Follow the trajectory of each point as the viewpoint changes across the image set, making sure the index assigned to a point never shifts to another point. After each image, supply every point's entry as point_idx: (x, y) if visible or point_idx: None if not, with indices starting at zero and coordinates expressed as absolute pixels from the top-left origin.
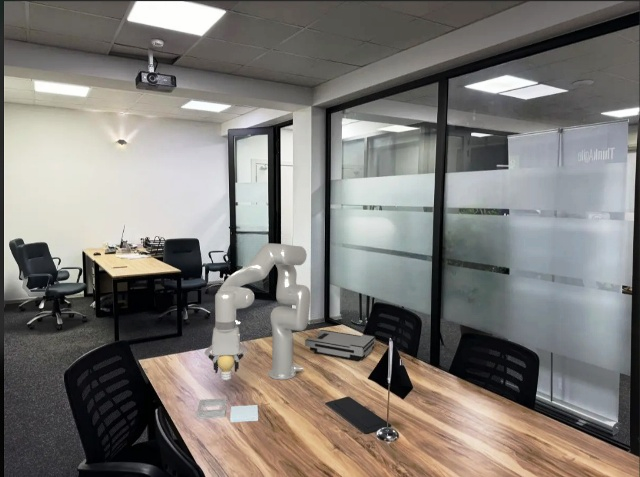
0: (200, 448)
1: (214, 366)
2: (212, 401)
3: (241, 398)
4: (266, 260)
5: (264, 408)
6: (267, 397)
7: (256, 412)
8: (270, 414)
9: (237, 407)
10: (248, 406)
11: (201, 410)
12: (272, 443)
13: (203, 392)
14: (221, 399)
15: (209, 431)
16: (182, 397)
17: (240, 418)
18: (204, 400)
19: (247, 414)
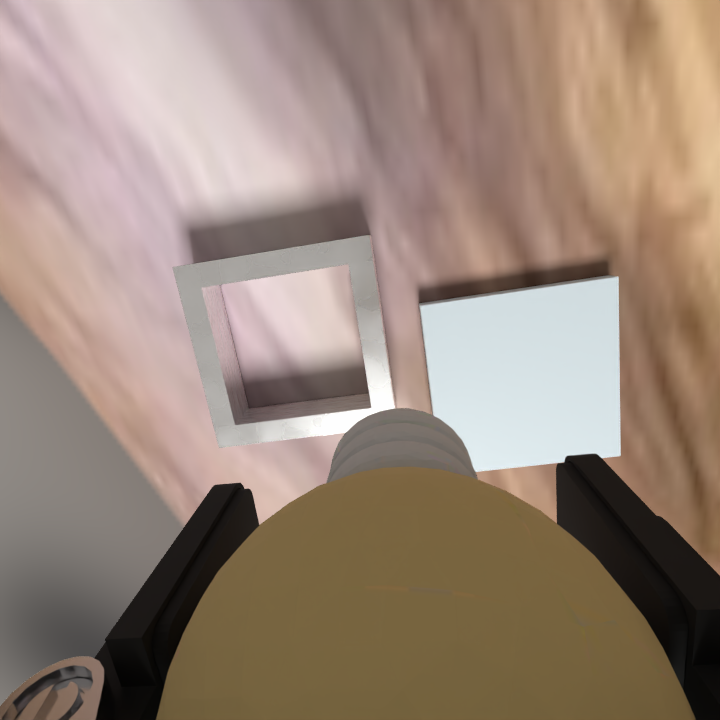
0: None
1: None
2: (271, 275)
3: (473, 124)
4: None
5: (660, 288)
6: (697, 93)
7: (609, 387)
8: (699, 371)
9: (468, 319)
10: (548, 303)
11: (232, 381)
12: None
13: (135, 20)
14: (335, 257)
15: None
16: (13, 129)
17: (505, 461)
18: (209, 278)
19: (547, 413)
